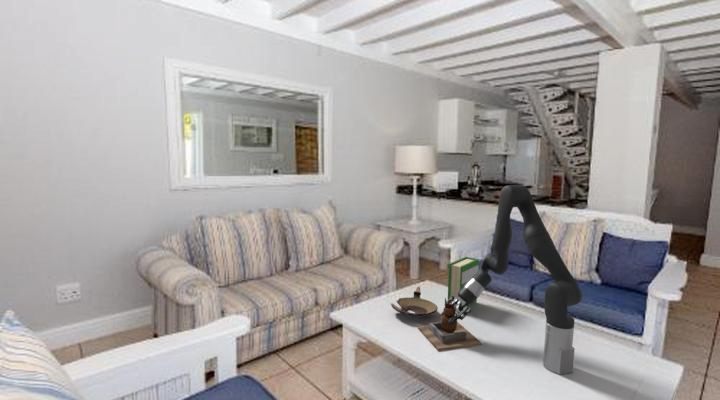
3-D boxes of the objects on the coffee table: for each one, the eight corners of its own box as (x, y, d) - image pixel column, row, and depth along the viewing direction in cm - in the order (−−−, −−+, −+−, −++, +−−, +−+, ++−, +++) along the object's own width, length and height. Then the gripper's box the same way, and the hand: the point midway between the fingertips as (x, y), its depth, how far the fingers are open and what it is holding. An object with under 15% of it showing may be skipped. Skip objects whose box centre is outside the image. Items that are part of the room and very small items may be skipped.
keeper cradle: (481, 344, 161) (481, 335, 161) (437, 350, 156) (438, 341, 156) (457, 323, 180) (457, 315, 180) (417, 328, 175) (418, 320, 175)
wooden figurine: (439, 332, 167) (440, 299, 165) (443, 327, 172) (443, 294, 170) (454, 336, 164) (455, 302, 162) (458, 330, 169) (459, 297, 167)
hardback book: (460, 313, 192) (462, 266, 189) (447, 309, 197) (449, 263, 194) (476, 303, 205) (478, 259, 202) (463, 299, 210) (465, 256, 207)
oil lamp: (382, 317, 187) (382, 301, 186) (410, 297, 212) (411, 284, 211) (424, 329, 175) (424, 313, 174) (449, 307, 199) (450, 293, 198)
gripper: (457, 280, 174) (432, 308, 173) (474, 292, 160) (448, 322, 159) (467, 290, 176) (443, 318, 175) (485, 302, 162) (459, 332, 161)
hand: (445, 320), depth 167 cm, fingers closed on wooden figurine, 6 cm apart
